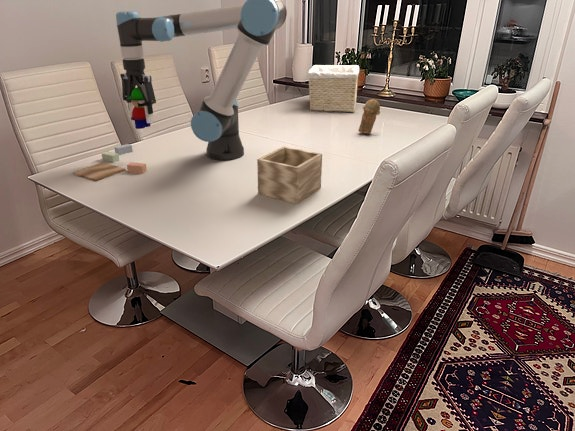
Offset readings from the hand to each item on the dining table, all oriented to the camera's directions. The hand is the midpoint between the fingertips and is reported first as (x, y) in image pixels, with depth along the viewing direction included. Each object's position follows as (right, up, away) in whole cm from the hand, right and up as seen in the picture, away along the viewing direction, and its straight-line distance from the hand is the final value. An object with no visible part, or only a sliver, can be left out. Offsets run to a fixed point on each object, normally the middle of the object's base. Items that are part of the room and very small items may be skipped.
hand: (142, 120), depth 181 cm
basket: (+81, +25, +88) cm, 122 cm away
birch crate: (+56, -27, -20) cm, 66 cm away
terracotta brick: (0, -20, -5) cm, 20 cm away
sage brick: (-14, -14, +6) cm, 21 cm away
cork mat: (-14, -20, -6) cm, 25 cm away
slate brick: (-12, -10, +14) cm, 21 cm away
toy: (+1, -2, +1) cm, 3 cm away
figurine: (+93, +2, +42) cm, 102 cm away
